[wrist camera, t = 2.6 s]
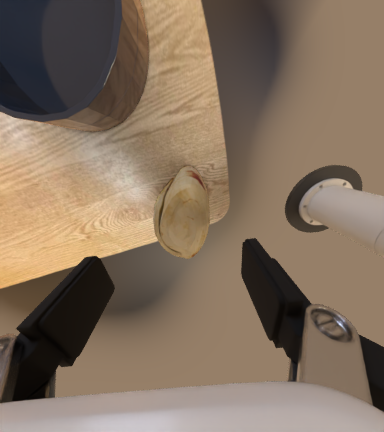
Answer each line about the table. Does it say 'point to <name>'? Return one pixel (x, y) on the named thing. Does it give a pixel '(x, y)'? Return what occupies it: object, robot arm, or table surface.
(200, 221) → the food model
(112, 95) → the pot
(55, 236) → the table surface
